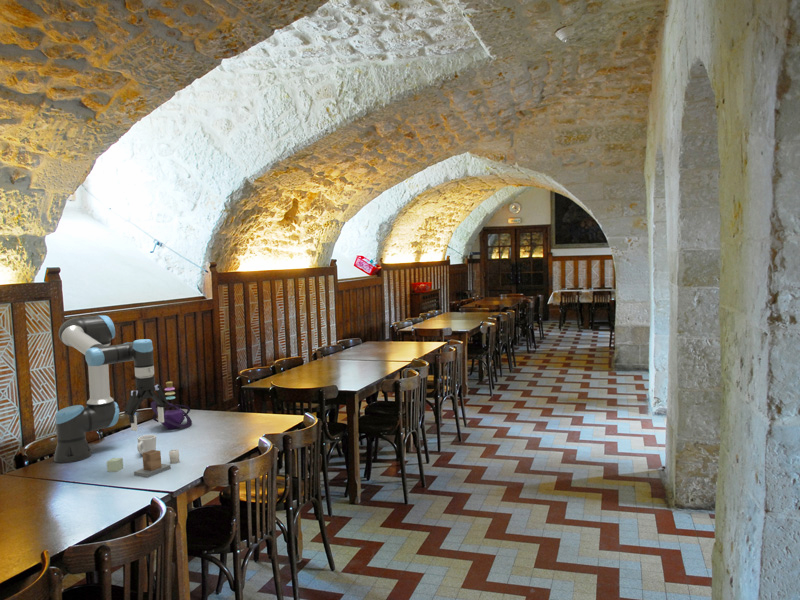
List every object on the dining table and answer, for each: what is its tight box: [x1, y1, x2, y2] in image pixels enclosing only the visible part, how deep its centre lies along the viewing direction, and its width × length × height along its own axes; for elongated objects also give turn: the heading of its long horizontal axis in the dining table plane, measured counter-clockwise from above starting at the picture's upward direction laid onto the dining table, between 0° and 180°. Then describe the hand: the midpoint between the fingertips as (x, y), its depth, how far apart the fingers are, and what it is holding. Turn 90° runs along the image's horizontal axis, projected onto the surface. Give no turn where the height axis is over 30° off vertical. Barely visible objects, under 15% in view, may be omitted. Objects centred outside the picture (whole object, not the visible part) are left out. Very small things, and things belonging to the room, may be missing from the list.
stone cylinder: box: [168, 449, 180, 465], centre depth 272 cm, size 4×4×5 cm
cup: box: [136, 434, 157, 455], centre depth 285 cm, size 11×8×8 cm
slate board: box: [133, 463, 172, 479], centre depth 260 cm, size 8×12×2 cm, turn 152°
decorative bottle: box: [150, 380, 193, 430], centre depth 331 cm, size 22×21×25 cm
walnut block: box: [141, 449, 162, 471], centre depth 260 cm, size 5×5×7 cm
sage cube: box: [106, 457, 124, 473], centre depth 265 cm, size 4×4×4 cm
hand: (148, 426), depth 260 cm, fingers open, 13 cm apart
